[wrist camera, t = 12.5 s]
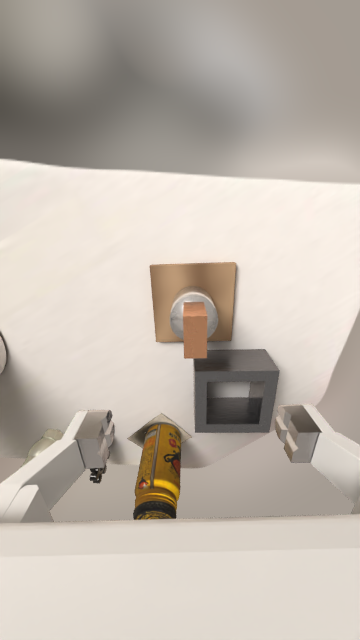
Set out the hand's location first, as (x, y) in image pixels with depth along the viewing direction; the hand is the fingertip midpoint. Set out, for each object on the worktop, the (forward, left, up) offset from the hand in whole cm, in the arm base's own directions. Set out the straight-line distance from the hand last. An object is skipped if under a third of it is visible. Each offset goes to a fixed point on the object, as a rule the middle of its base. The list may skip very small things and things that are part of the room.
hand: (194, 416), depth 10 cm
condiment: (-6, -24, -19) cm, 31 cm away
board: (0, 0, -18) cm, 18 cm away
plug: (0, 0, -17) cm, 17 cm away
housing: (+5, -12, -18) cm, 23 cm away
